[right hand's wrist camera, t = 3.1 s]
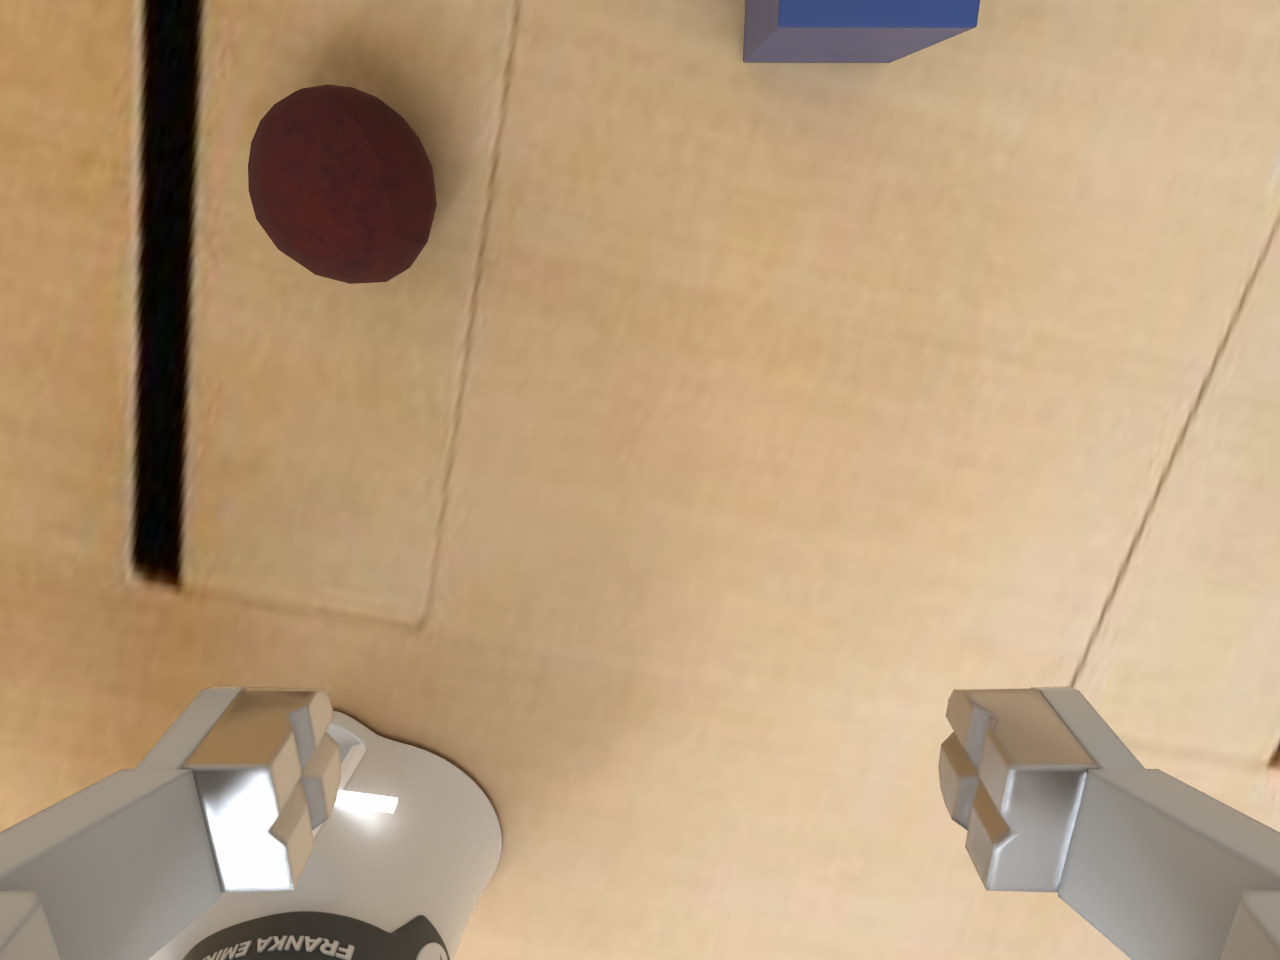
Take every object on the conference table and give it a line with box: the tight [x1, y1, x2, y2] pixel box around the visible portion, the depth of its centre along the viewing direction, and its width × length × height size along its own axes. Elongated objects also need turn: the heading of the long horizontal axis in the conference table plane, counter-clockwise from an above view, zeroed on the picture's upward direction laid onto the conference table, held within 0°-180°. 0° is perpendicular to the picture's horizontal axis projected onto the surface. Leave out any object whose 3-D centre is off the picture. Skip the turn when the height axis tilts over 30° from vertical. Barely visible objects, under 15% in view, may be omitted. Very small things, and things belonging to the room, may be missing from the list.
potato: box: [248, 85, 437, 284], centre depth 33 cm, size 7×8×7 cm
